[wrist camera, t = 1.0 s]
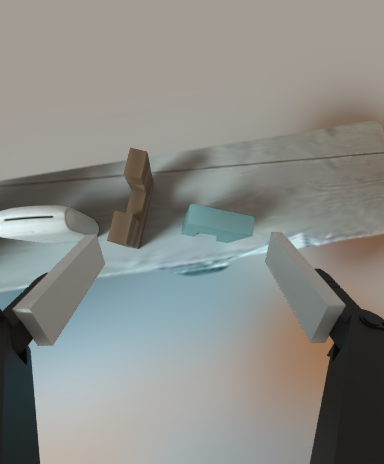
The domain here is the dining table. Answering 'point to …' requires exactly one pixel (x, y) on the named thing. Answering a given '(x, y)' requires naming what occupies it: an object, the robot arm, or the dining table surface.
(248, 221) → the teal slotted plate
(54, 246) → the dining table surface
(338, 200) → the dining table surface
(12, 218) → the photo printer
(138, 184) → the walnut slotted board
